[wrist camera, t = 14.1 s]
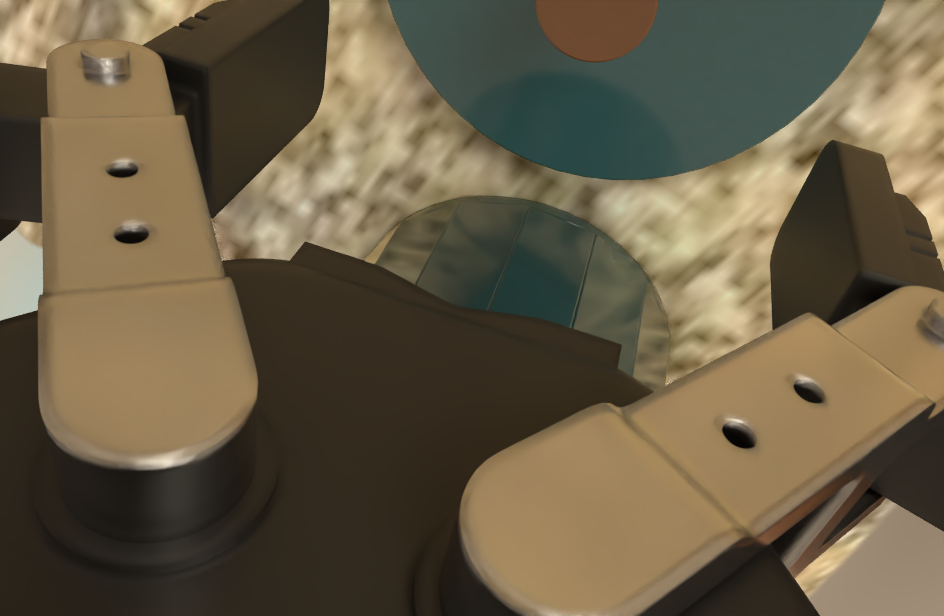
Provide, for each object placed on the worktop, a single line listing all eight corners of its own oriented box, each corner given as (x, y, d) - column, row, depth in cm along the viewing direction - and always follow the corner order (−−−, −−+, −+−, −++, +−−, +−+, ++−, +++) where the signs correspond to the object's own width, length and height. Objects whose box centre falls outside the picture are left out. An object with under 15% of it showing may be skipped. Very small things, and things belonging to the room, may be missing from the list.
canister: (334, 187, 28) (106, 473, 18) (681, 204, 25) (642, 561, 15) (385, 426, 36) (242, 727, 25) (660, 462, 33) (624, 822, 22)
